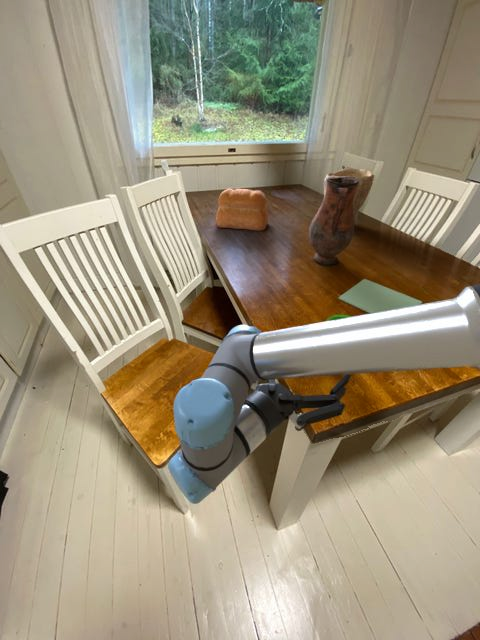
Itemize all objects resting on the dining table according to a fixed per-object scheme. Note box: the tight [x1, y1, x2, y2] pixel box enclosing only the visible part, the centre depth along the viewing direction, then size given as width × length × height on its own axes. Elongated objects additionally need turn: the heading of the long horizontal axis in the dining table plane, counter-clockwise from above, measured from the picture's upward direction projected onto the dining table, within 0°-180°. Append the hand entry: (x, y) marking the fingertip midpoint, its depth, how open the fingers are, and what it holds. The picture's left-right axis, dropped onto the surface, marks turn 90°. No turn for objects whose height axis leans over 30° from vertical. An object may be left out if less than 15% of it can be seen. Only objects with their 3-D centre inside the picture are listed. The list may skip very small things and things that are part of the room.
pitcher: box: [308, 177, 359, 266], centre depth 101 cm, size 17×21×30 cm
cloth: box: [337, 278, 423, 314], centre depth 89 cm, size 20×18×1 cm
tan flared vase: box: [323, 167, 375, 218], centre depth 138 cm, size 22×22×25 cm
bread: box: [215, 188, 269, 232], centre depth 137 cm, size 16×26×17 cm, turn 78°
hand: (320, 359), depth 60 cm, fingers open, 13 cm apart
